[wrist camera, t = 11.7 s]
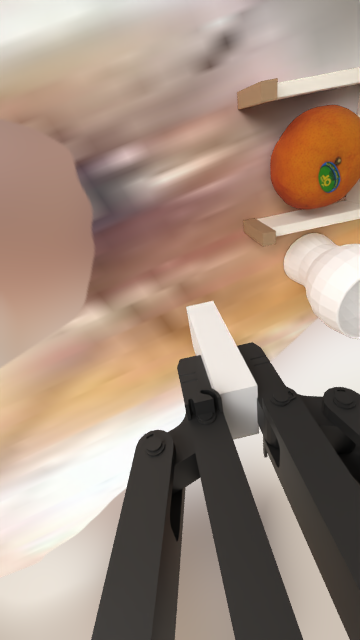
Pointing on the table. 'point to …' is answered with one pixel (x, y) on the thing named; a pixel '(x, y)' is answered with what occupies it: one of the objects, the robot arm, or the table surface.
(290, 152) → the fruit
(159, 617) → the robot arm
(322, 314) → the cup
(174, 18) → the table surface
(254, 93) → the frame
